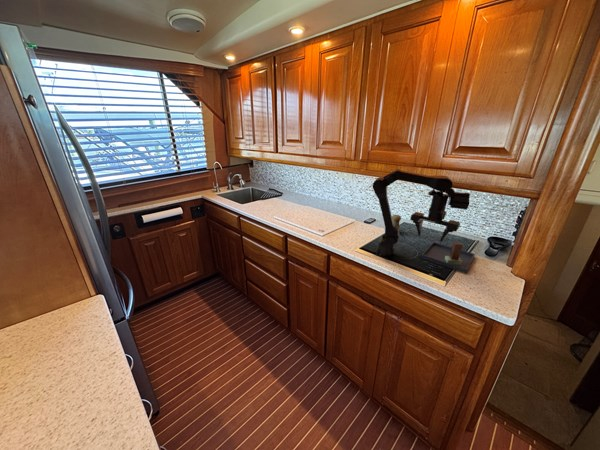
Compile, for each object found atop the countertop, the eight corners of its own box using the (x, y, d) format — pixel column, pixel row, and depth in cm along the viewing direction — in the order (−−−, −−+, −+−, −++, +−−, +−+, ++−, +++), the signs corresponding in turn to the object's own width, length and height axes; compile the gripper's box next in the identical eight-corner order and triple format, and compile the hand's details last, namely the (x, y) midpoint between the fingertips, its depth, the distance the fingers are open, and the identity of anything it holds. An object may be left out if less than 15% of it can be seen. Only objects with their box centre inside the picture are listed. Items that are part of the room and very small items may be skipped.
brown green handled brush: (447, 263, 112) (452, 244, 108) (444, 259, 116) (449, 240, 112) (461, 265, 111) (467, 246, 107) (458, 260, 114) (463, 242, 110)
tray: (420, 258, 117) (421, 254, 117) (432, 244, 130) (433, 241, 129) (465, 273, 105) (467, 269, 105) (473, 257, 118) (475, 254, 117)
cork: (390, 229, 149) (393, 212, 145) (400, 231, 146) (403, 215, 141) (387, 232, 145) (389, 215, 140) (397, 235, 141) (400, 218, 137)
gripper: (467, 206, 102) (457, 239, 108) (421, 197, 113) (415, 227, 120) (461, 213, 94) (451, 247, 100) (413, 202, 106) (406, 234, 112)
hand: (429, 238), depth 108 cm, fingers open, 9 cm apart
